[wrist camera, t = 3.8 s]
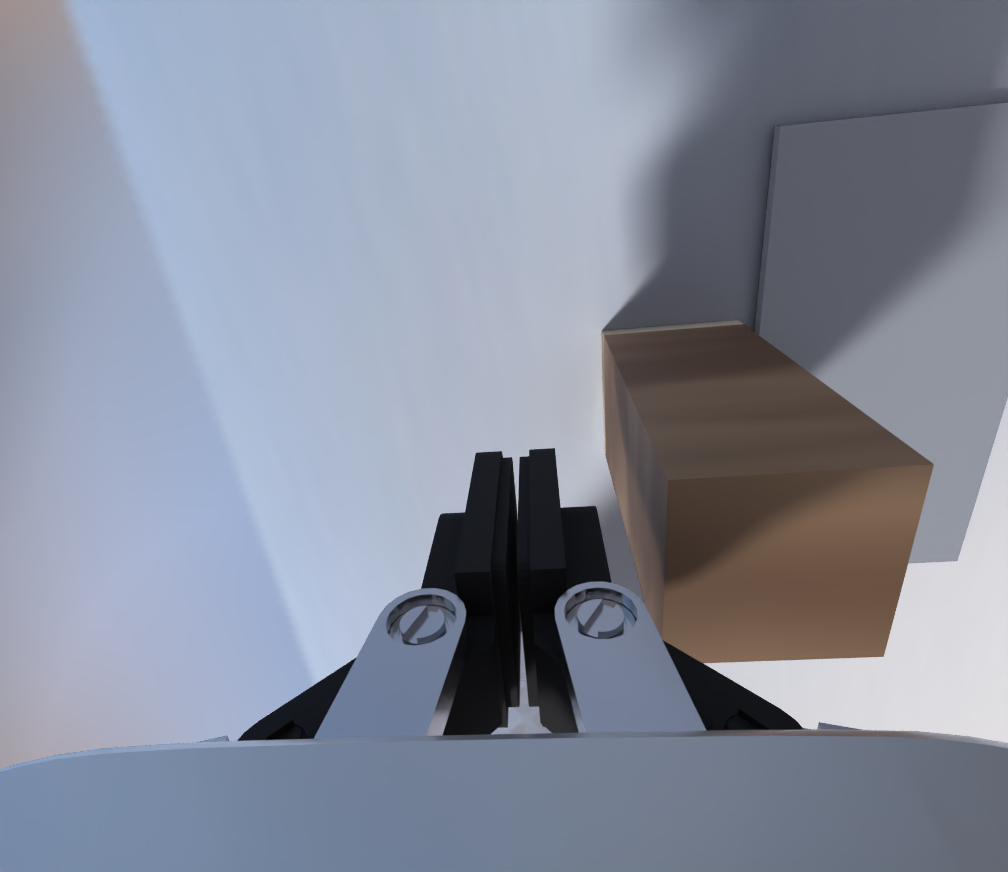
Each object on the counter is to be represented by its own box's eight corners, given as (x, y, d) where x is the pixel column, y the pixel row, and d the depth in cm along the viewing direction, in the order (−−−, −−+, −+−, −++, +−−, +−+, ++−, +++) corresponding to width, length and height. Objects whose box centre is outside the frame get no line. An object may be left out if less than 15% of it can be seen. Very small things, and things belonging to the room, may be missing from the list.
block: (601, 330, 17) (668, 480, 9) (737, 319, 17) (934, 464, 9) (603, 448, 19) (661, 664, 11) (727, 441, 18) (883, 656, 10)
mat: (774, 126, 15) (781, 125, 14) (1086, 94, 14) (1101, 92, 14) (731, 564, 21) (735, 571, 20) (949, 553, 20) (956, 561, 20)
